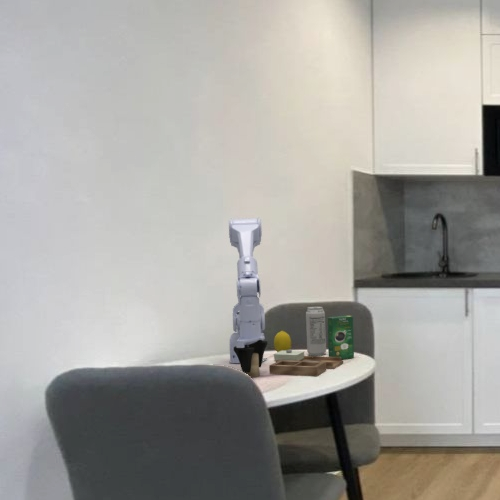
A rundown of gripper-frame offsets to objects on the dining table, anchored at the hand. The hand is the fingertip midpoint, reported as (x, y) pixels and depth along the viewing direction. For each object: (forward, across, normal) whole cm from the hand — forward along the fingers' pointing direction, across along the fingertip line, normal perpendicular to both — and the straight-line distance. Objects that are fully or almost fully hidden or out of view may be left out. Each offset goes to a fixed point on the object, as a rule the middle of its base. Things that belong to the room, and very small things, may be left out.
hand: (251, 369), depth 201 cm
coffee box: (+2, +29, -17) cm, 34 cm away
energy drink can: (+2, +35, -7) cm, 36 cm away
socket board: (+2, +7, -11) cm, 13 cm away
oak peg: (+2, 0, 0) cm, 2 cm away
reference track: (+2, +18, -10) cm, 21 cm away
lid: (0, +18, -4) cm, 18 cm away
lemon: (+2, +31, +3) cm, 31 cm away
